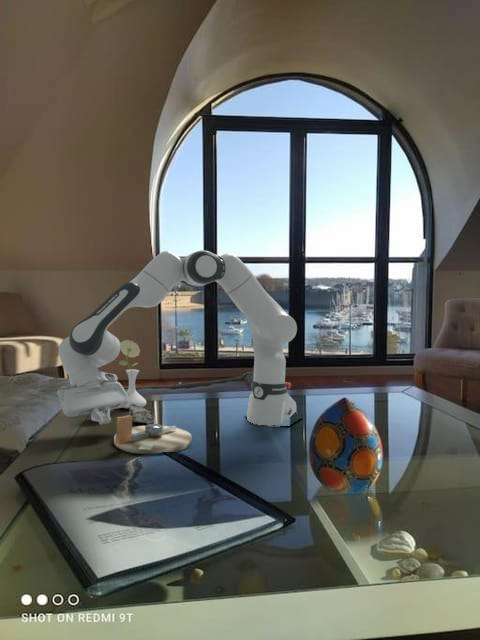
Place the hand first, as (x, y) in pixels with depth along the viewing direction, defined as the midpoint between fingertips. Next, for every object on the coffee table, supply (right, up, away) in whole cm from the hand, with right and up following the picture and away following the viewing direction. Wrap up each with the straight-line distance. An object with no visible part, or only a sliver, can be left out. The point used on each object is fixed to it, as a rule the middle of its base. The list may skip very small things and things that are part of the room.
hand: (105, 422), depth 130 cm
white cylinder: (-8, -4, +20) cm, 22 cm away
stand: (+14, -6, +1) cm, 15 cm away
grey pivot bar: (+12, -4, -1) cm, 13 cm away
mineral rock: (+5, -5, +22) cm, 23 cm away
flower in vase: (-3, -3, +39) cm, 39 cm away
